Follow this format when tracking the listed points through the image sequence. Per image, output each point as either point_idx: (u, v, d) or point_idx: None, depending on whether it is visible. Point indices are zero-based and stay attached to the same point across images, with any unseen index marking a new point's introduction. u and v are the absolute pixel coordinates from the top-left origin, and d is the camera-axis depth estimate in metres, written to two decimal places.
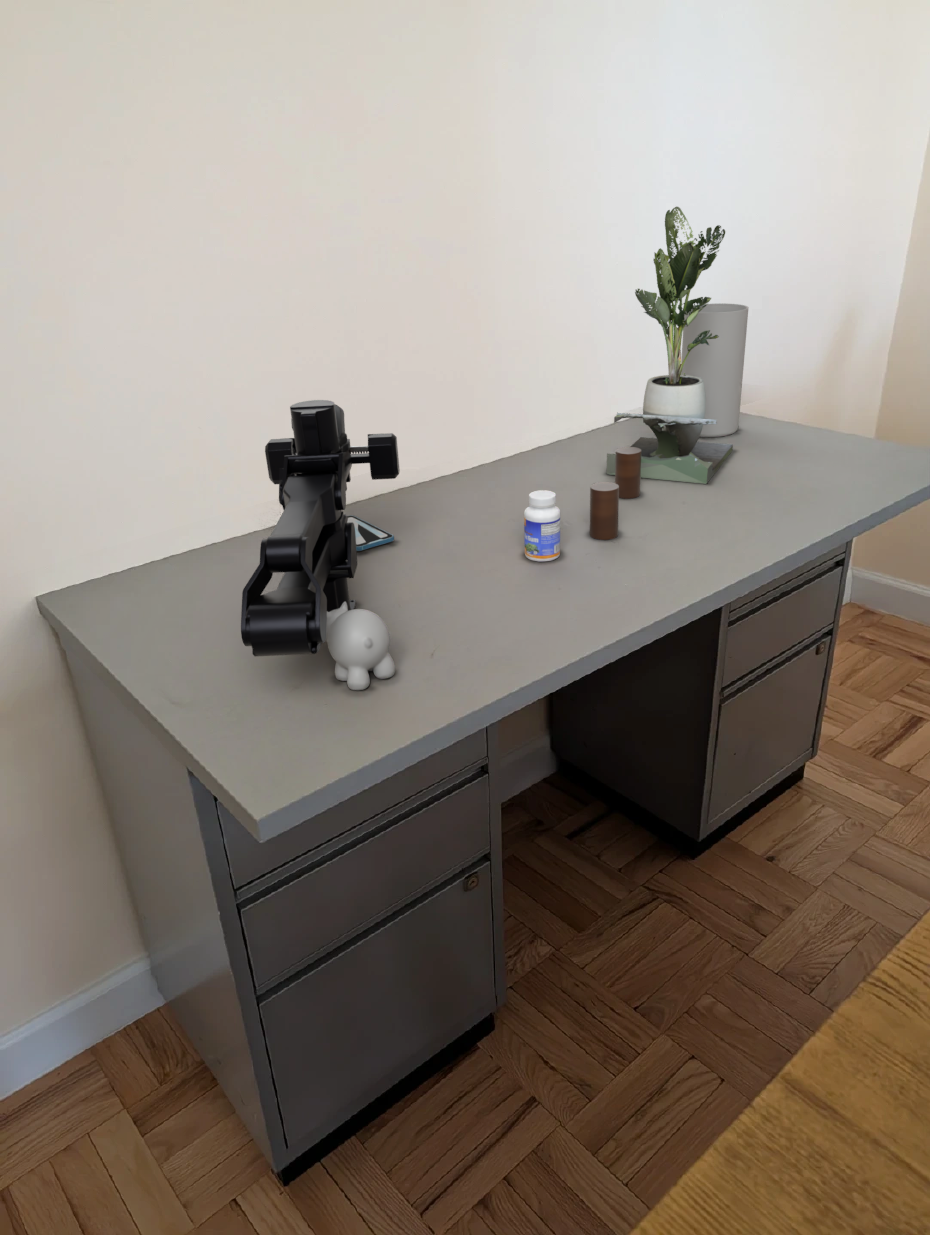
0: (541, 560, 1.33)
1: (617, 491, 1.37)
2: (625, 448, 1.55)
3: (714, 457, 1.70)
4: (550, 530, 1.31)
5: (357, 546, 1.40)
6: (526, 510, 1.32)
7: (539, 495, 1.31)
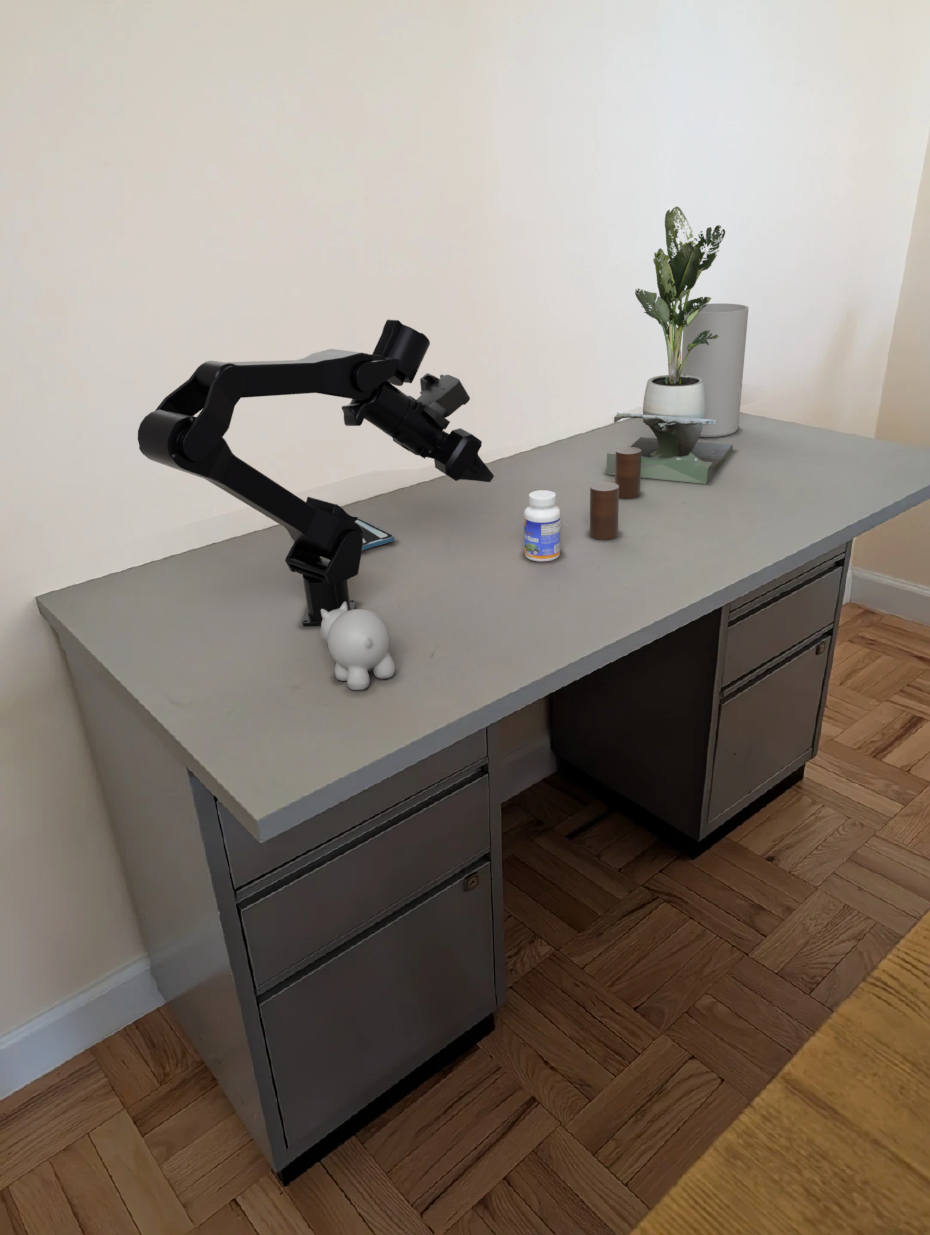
0: (541, 560, 1.33)
1: (617, 491, 1.37)
2: (625, 448, 1.55)
3: (714, 457, 1.70)
4: (550, 530, 1.31)
5: None
6: (526, 510, 1.32)
7: (539, 495, 1.31)
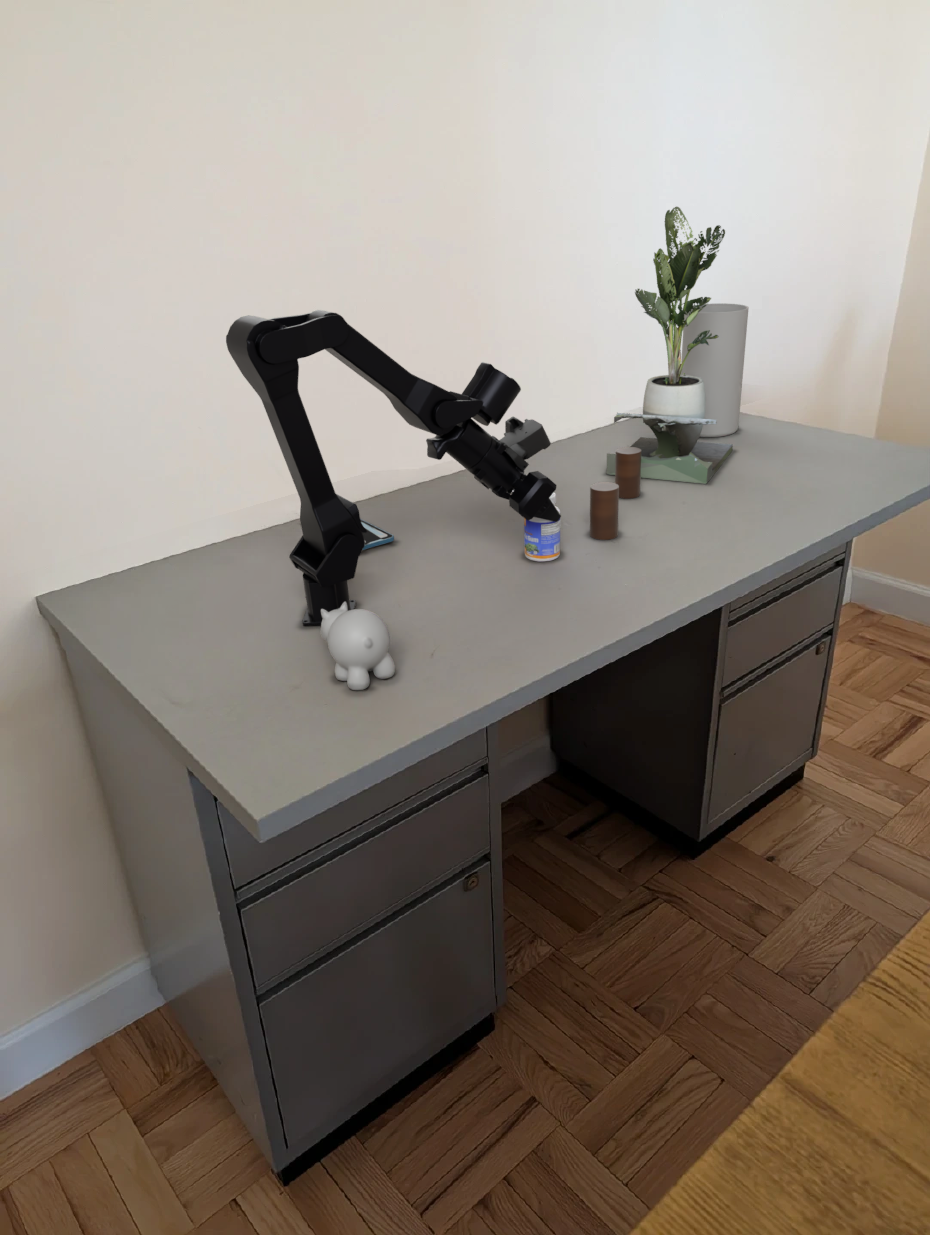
0: (541, 560, 1.33)
1: (617, 491, 1.37)
2: (625, 448, 1.55)
3: (714, 457, 1.70)
4: (549, 529, 1.31)
5: None
6: None
7: None
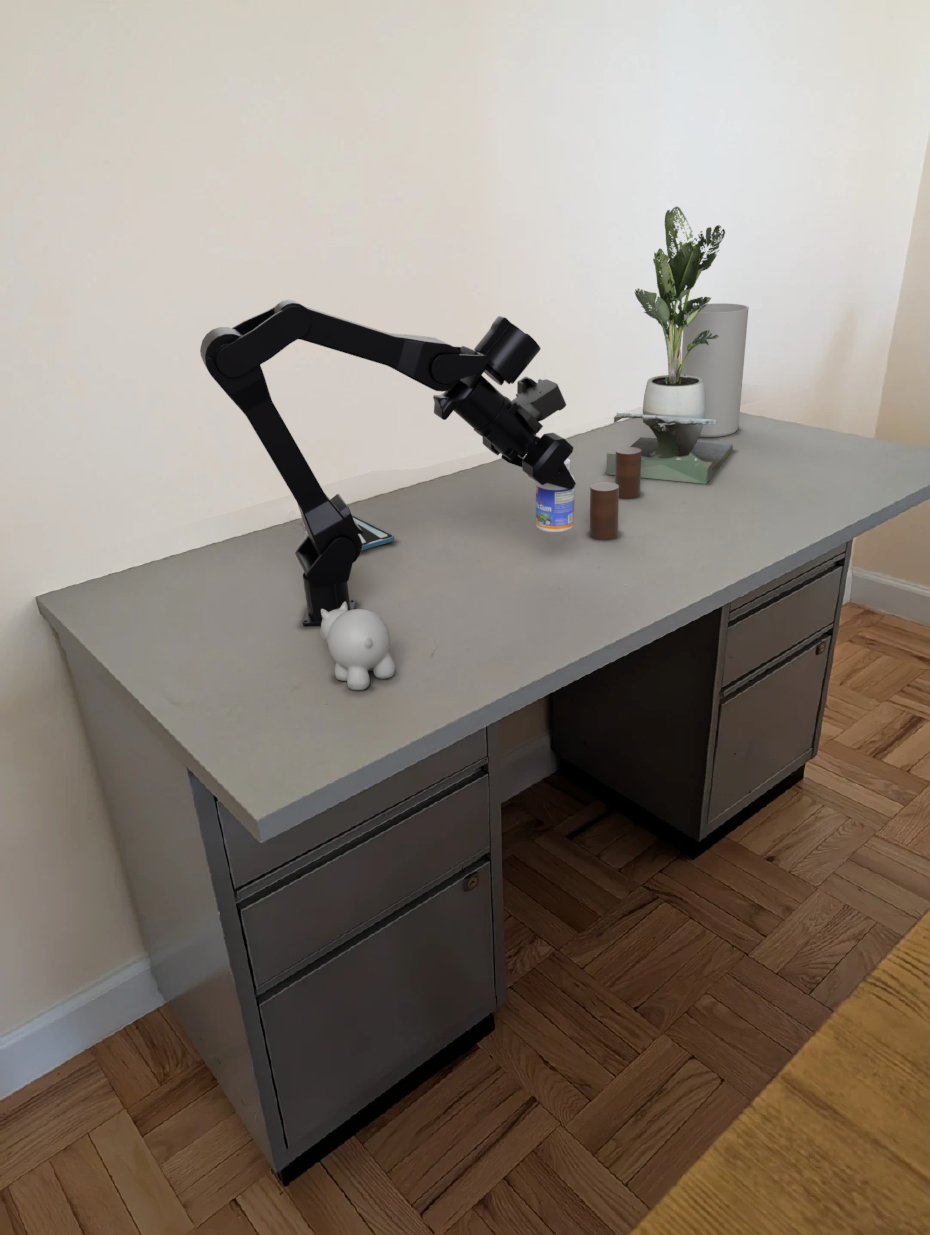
0: (554, 531, 1.25)
1: (617, 491, 1.37)
2: (625, 448, 1.55)
3: (714, 457, 1.70)
4: (563, 498, 1.23)
5: None
6: None
7: None
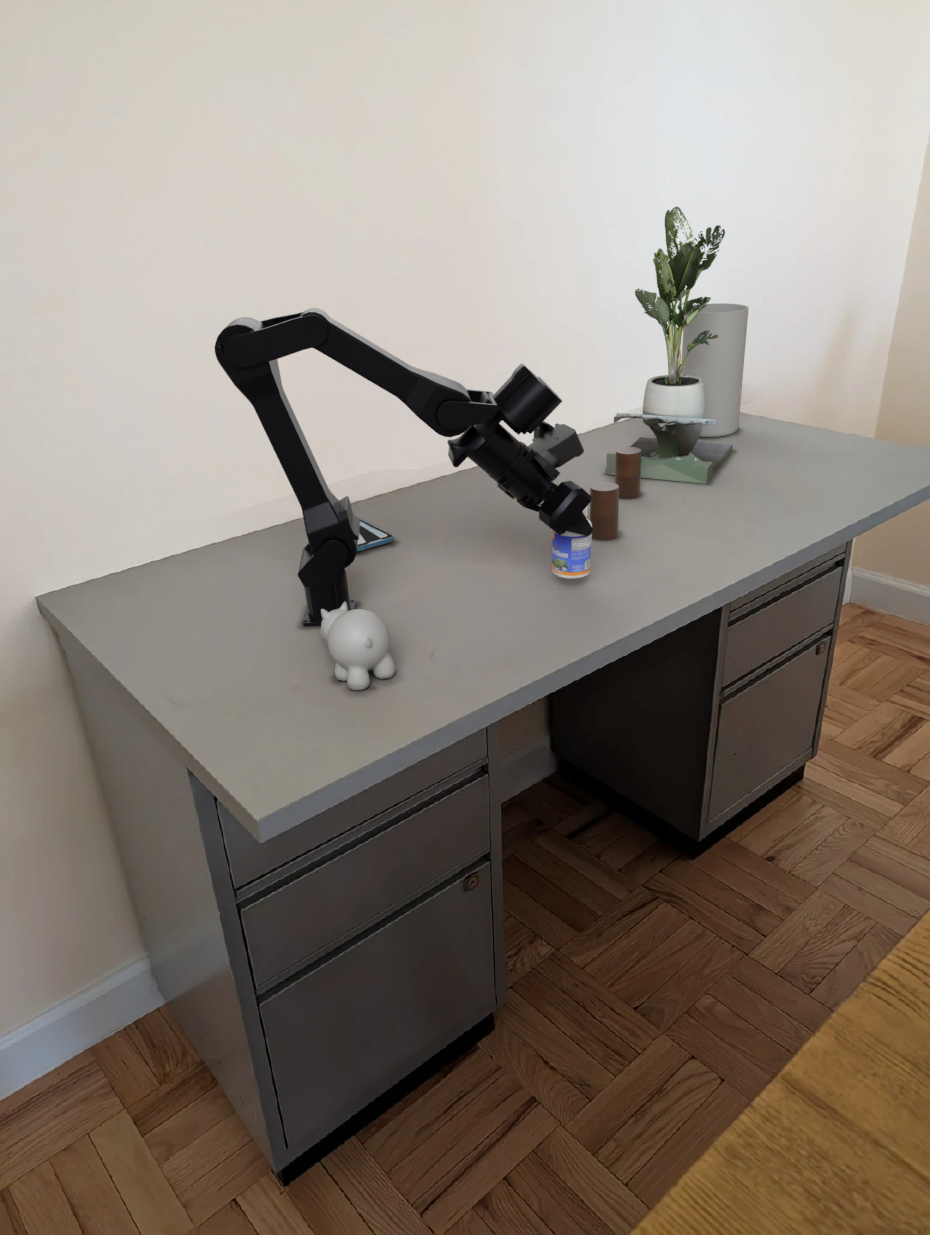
0: (570, 577, 1.22)
1: (617, 491, 1.37)
2: (625, 448, 1.55)
3: (714, 457, 1.70)
4: (580, 544, 1.20)
5: (357, 546, 1.40)
6: None
7: None
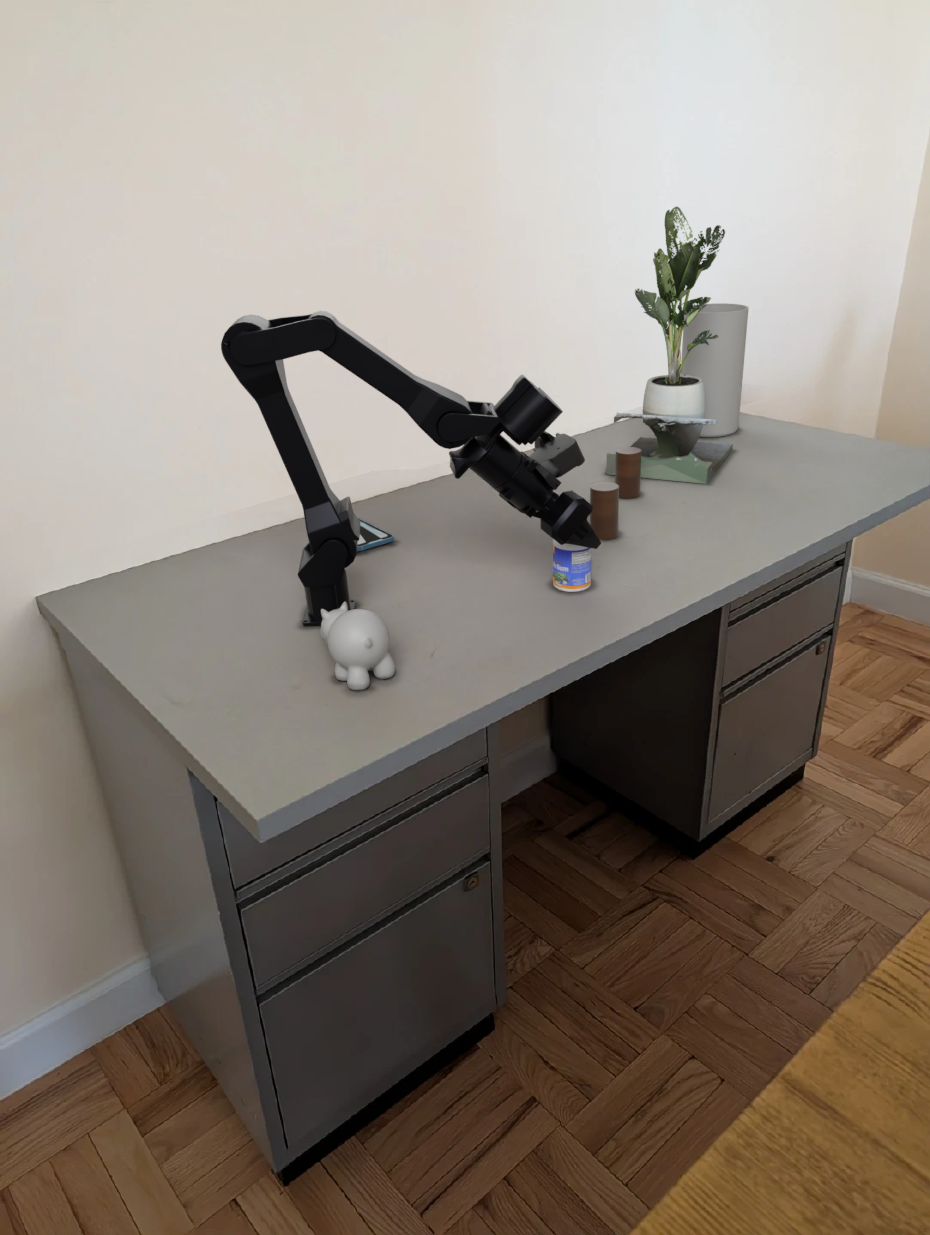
0: (571, 590, 1.23)
1: (617, 491, 1.37)
2: (625, 448, 1.55)
3: (714, 457, 1.70)
4: (581, 558, 1.21)
5: (357, 546, 1.40)
6: None
7: None
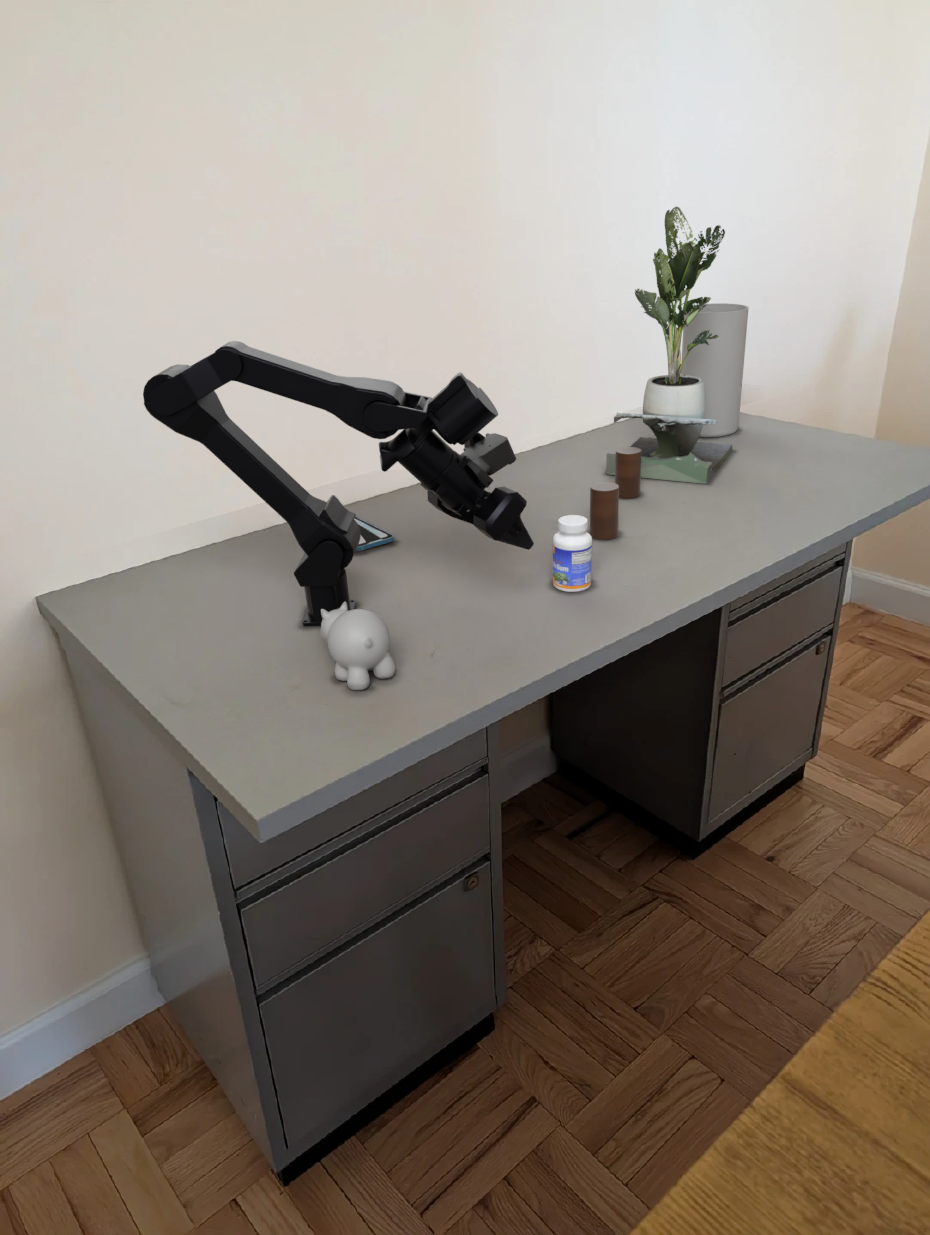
0: (571, 590, 1.23)
1: (617, 491, 1.37)
2: (625, 448, 1.55)
3: (714, 457, 1.70)
4: (581, 558, 1.21)
5: (357, 546, 1.40)
6: (555, 537, 1.22)
7: (569, 520, 1.21)
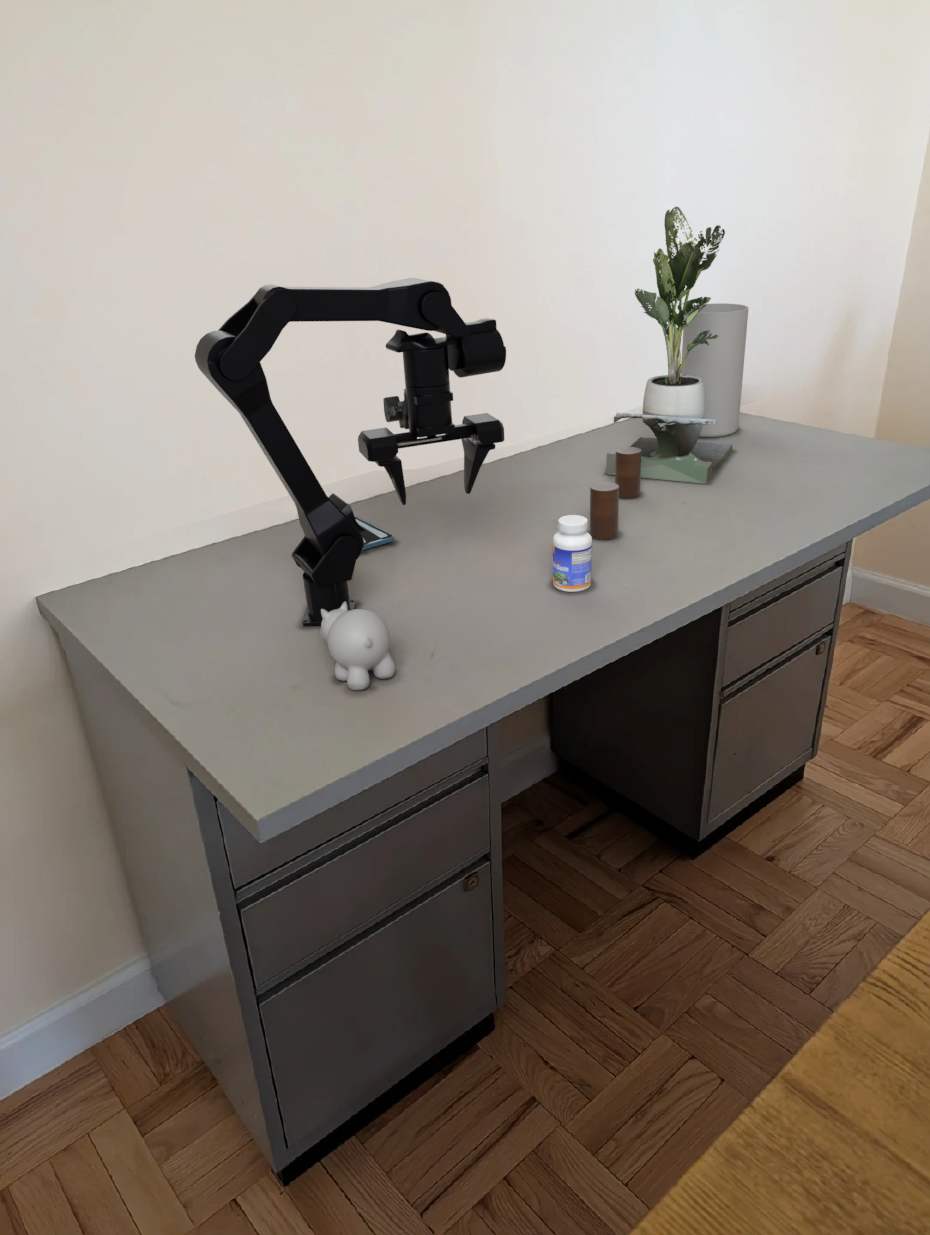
0: (571, 590, 1.23)
1: (617, 491, 1.37)
2: (625, 448, 1.55)
3: (713, 457, 1.70)
4: (581, 558, 1.21)
5: None
6: (555, 537, 1.22)
7: (569, 520, 1.21)
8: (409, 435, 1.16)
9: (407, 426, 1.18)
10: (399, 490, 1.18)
